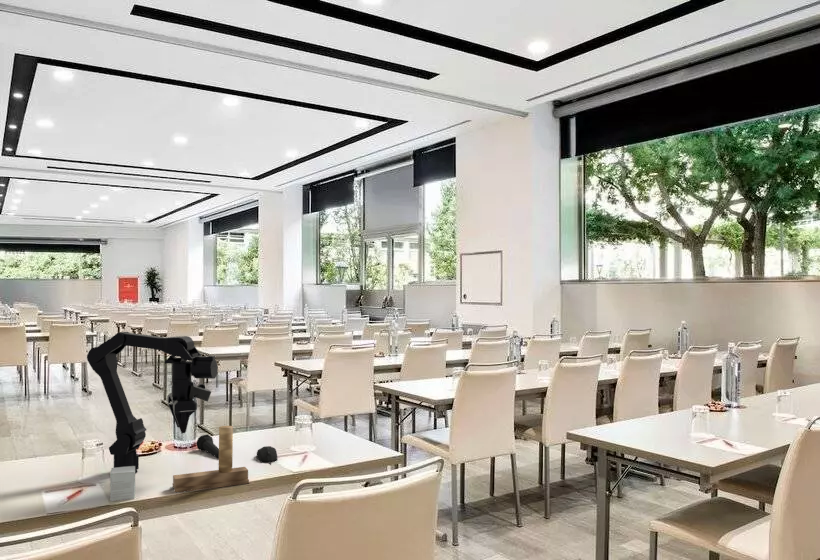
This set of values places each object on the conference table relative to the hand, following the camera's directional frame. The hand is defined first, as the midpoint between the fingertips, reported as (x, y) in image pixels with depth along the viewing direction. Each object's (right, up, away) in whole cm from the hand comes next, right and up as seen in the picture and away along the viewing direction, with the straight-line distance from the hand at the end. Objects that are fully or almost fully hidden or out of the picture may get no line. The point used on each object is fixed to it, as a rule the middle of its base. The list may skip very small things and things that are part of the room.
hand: (181, 430), depth 199 cm
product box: (-8, -13, -22) cm, 27 cm away
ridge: (+13, -13, -12) cm, 21 cm away
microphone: (+2, -14, +22) cm, 26 cm away
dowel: (+16, -9, -10) cm, 21 cm away
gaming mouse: (+23, -14, +16) cm, 31 cm away
